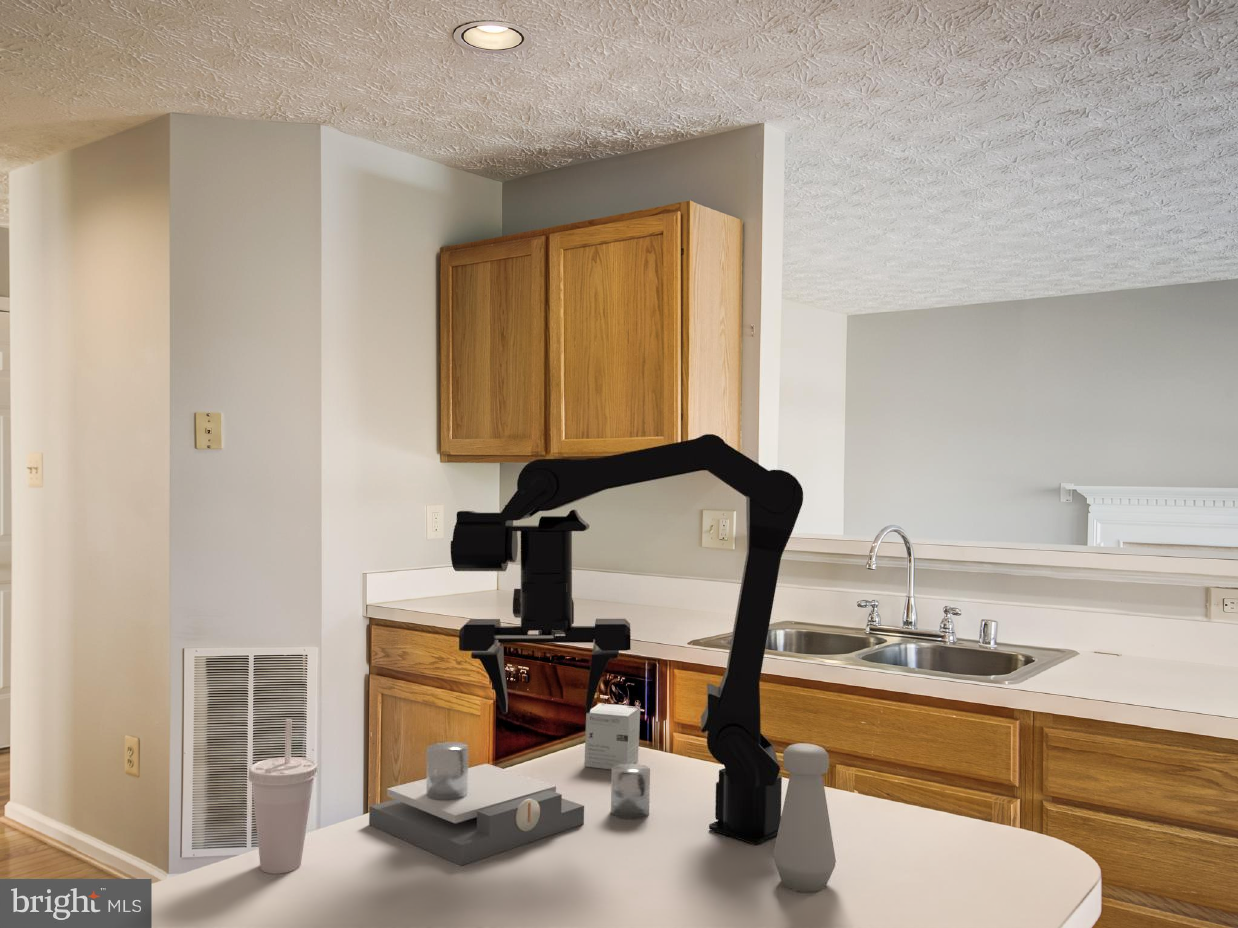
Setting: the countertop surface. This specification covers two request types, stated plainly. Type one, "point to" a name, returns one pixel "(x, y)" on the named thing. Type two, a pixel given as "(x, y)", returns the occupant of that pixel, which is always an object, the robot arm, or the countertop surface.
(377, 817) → the scale
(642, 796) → the cylinder
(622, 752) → the skincare box
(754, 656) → the robot arm
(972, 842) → the countertop surface
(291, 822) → the smoothie
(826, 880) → the salt shaker
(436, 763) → the cylinder
